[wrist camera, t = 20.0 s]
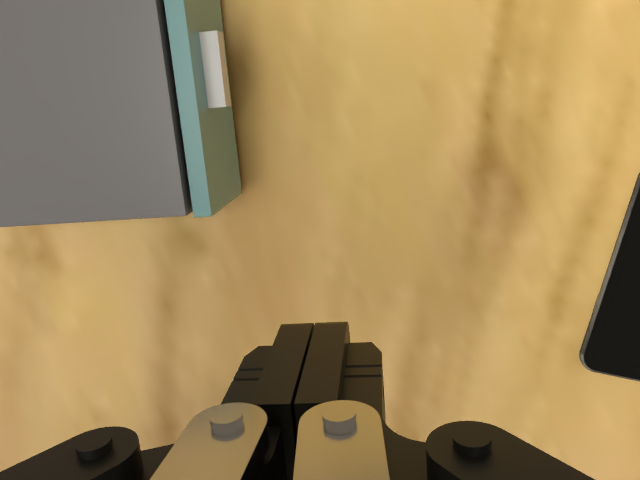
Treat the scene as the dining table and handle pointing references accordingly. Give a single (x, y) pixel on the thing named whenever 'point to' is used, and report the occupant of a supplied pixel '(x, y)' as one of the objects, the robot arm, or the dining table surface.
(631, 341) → the smartphone
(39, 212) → the housing
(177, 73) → the drawer
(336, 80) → the dining table surface
